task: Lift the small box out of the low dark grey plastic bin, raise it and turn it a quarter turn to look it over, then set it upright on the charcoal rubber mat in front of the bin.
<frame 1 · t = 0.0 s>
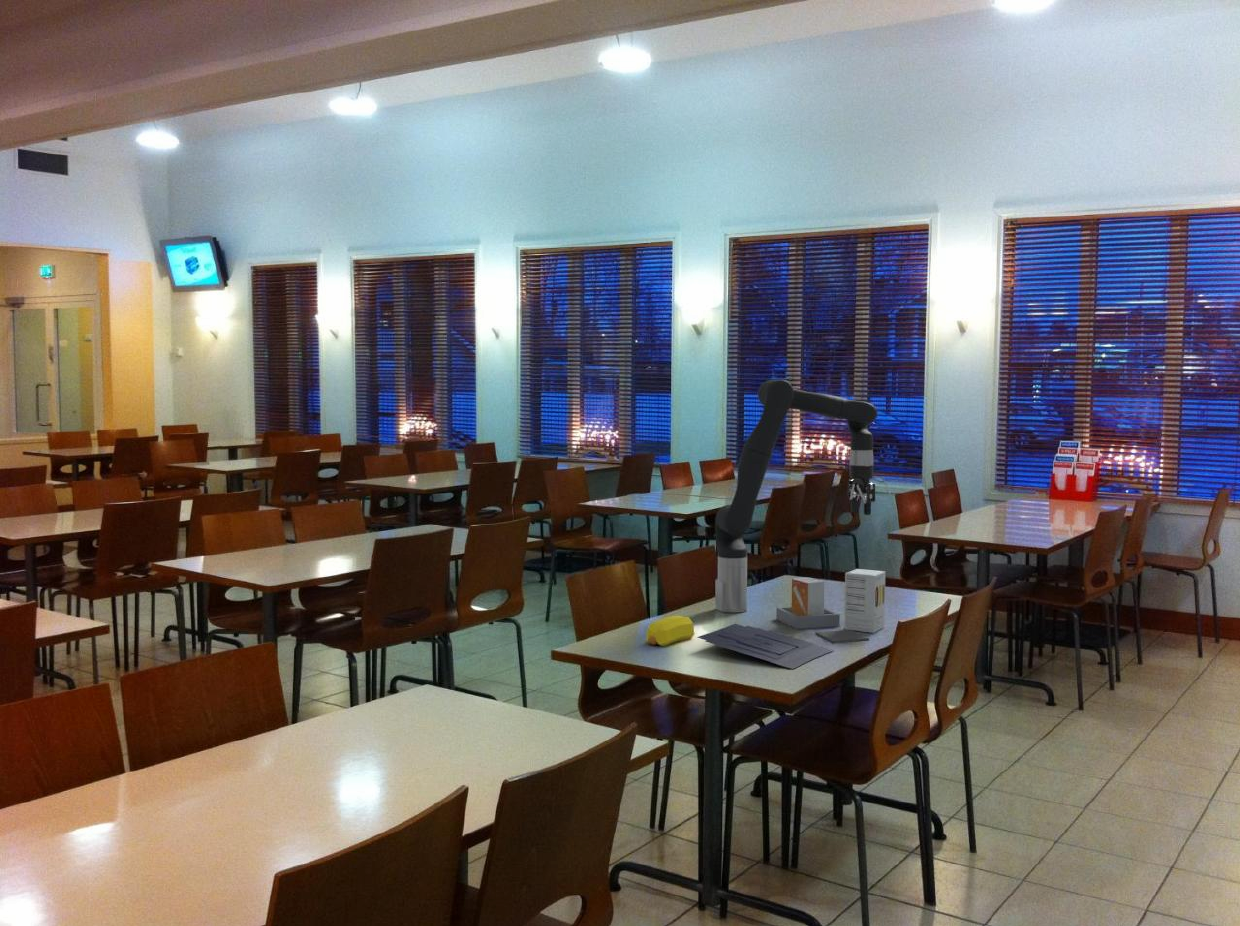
hand: (860, 513, 358), 29 cm above the table, fingers open, 8 cm apart
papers: (763, 653, 294), on the table
yellow faceted capsule: (670, 642, 307), on the table
charcoal mat: (842, 637, 310), on the table
grey bin: (807, 622, 329), on the table
small box: (807, 623, 329), resting in grey bin
supplement box: (864, 629, 321), on the table
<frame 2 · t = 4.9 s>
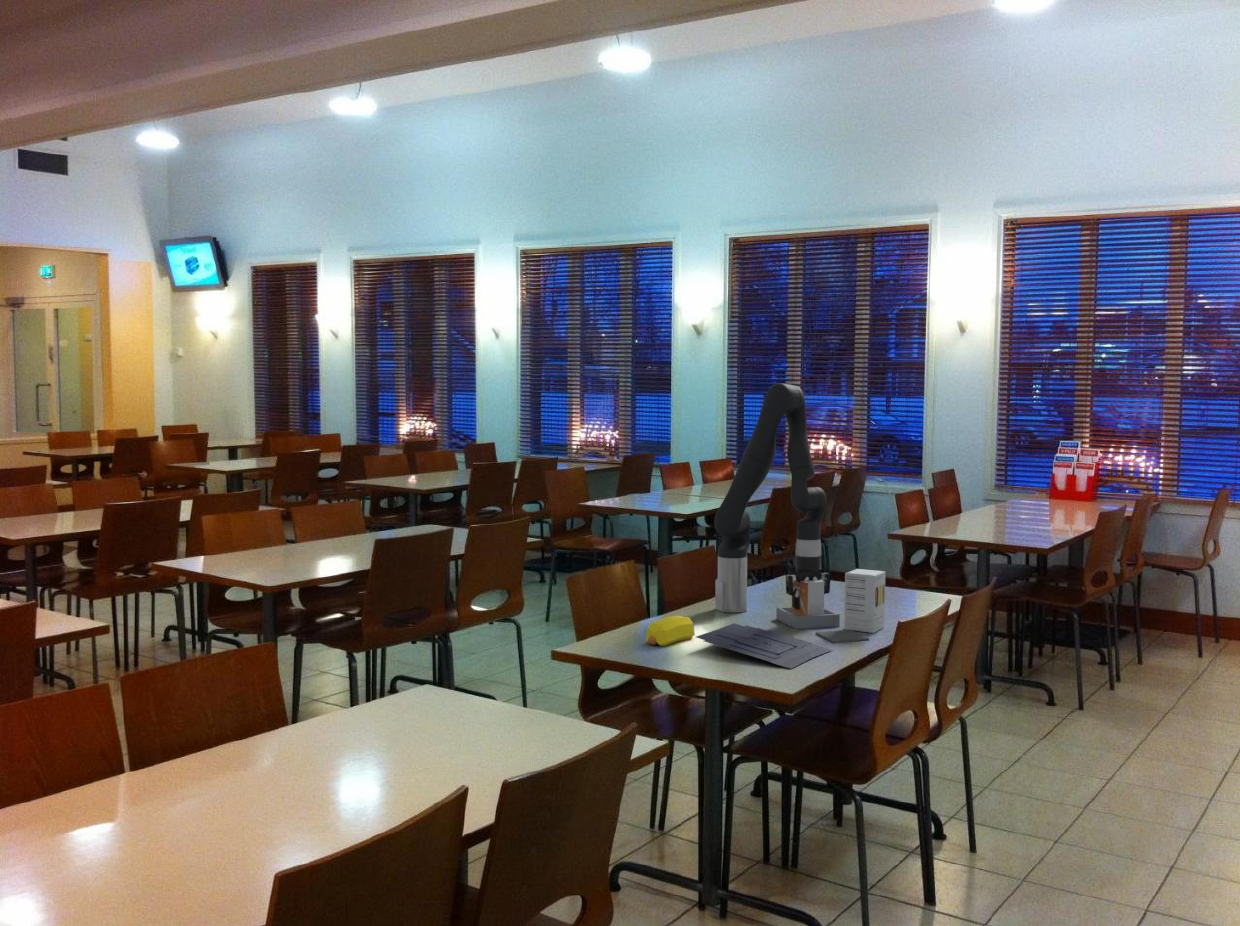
hand: (807, 608, 329), 4 cm above the table, fingers closed on small box, 7 cm apart
small box: (807, 623, 329), resting in grey bin, touching gripper
everything else where it was.
when the fingers open (6 cm above the table, at t = 14.3 s): small box stays where it is, resting on charcoal mat.
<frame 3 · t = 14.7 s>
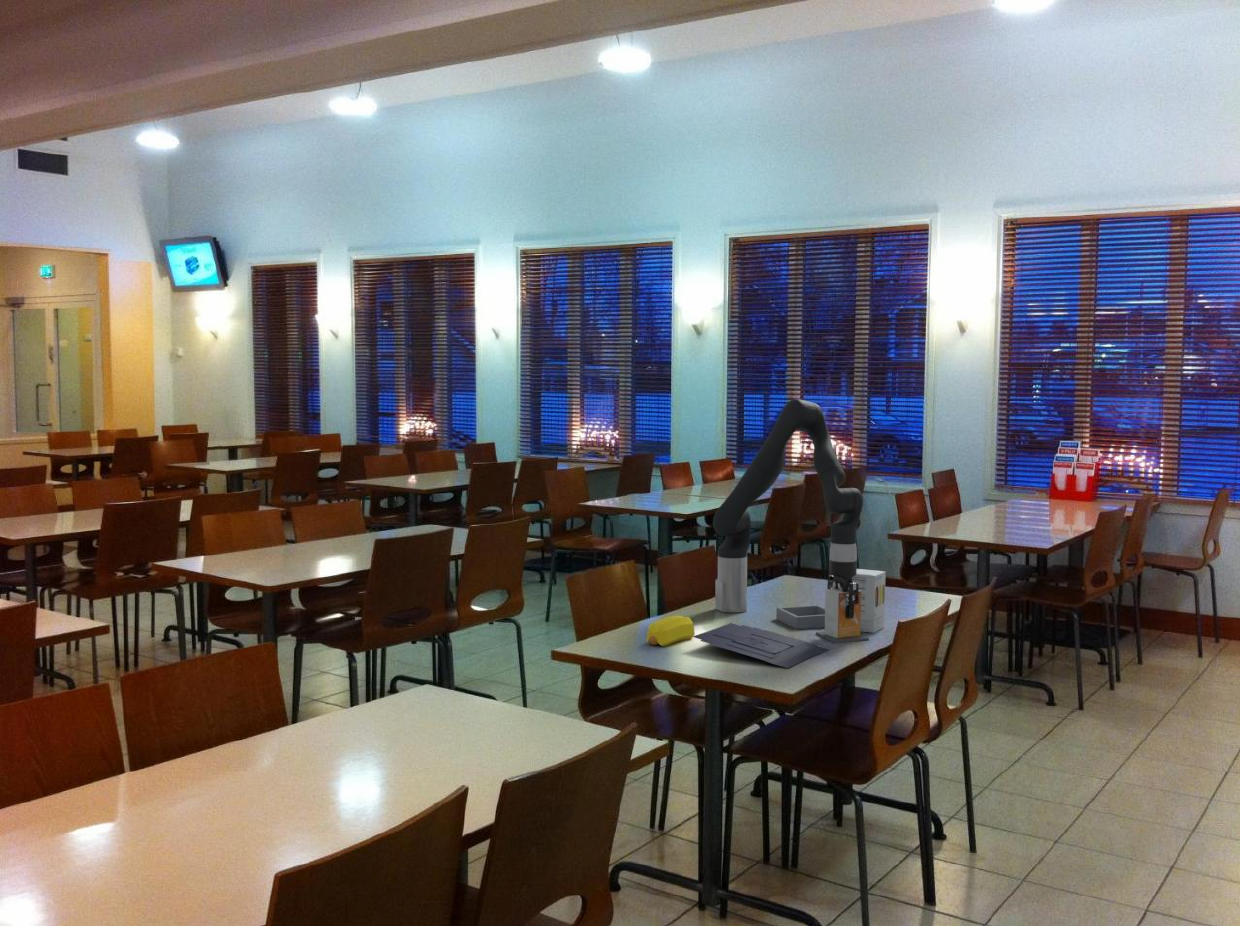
hand: (842, 615, 310), 6 cm above the table, fingers open, 8 cm apart
small box: (842, 635, 310), resting on charcoal mat
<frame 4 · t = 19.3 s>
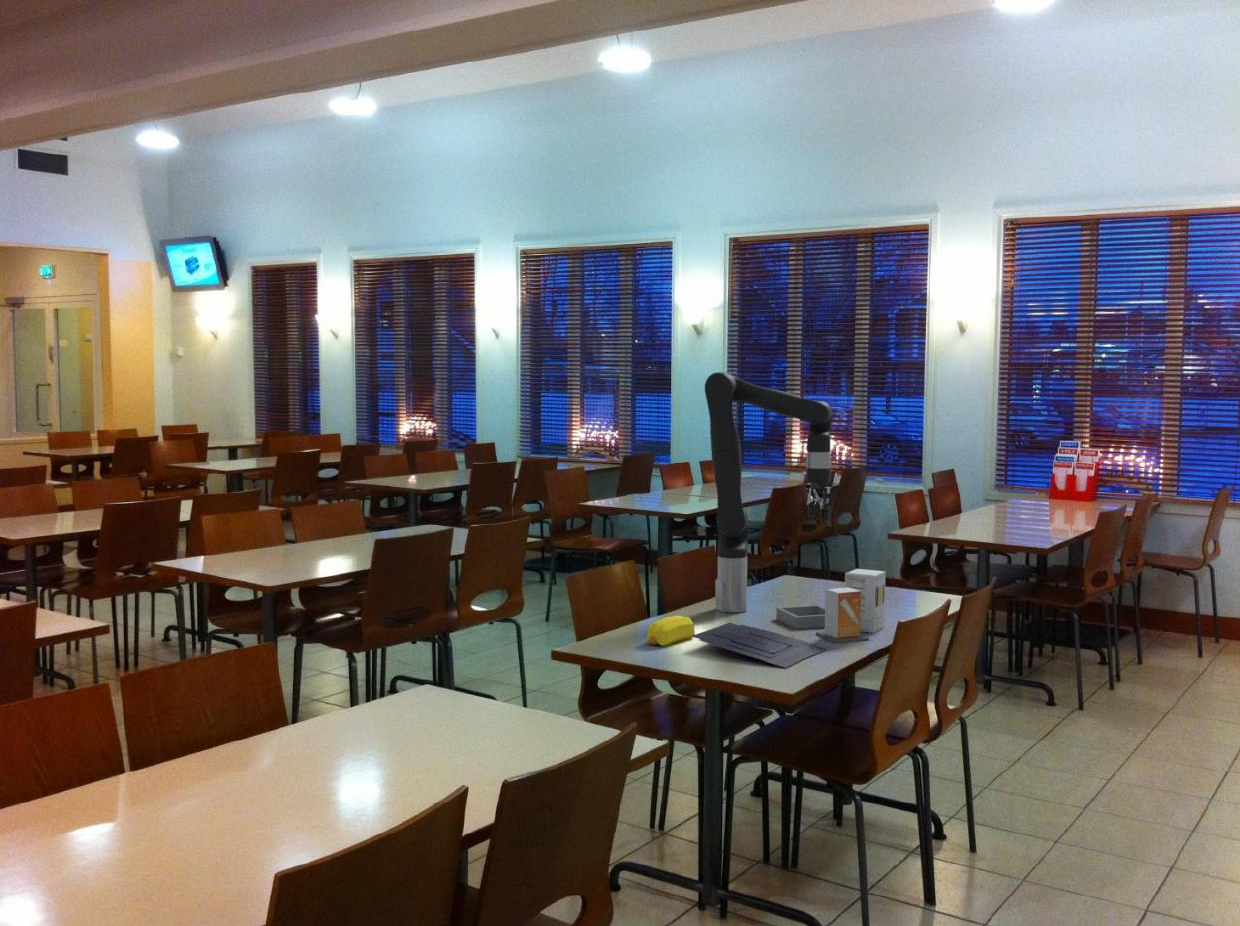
hand: (817, 518, 337), 30 cm above the table, fingers open, 8 cm apart
at the end: small box 0.3 cm off-centre on the charcoal mat, point 0.4 cm above the charcoal mat's base; small box tilted 0°; the gripper is holding nothing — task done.
